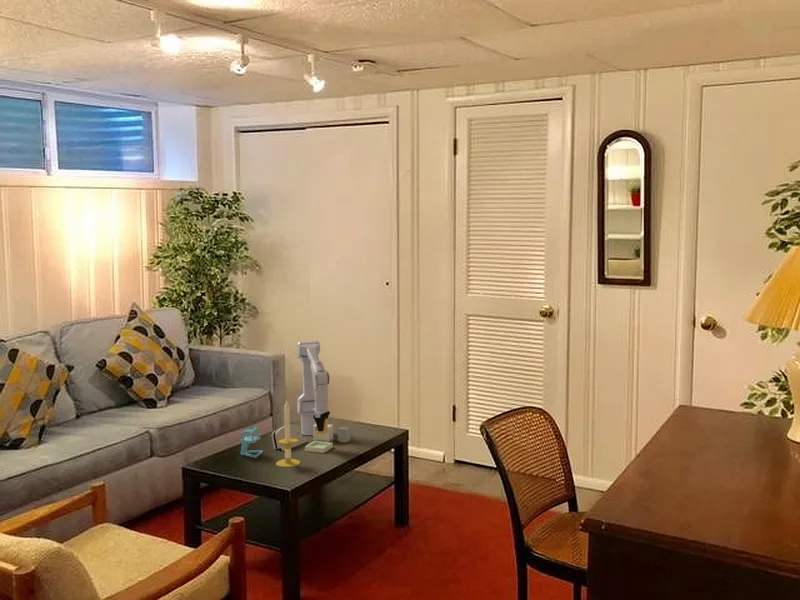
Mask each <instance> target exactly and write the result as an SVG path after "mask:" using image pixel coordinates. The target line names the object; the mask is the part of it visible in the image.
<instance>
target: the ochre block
mask: <svg viewBox="0 0 800 600" xmlns="http://www.w3.org/2000/svg"><path fill="white" fill-rule="evenodd" d="M328 419H329V418H328ZM328 419H325V422H324V429H323V431H318V429H317V434H326V433H327V432H328V424H329V423H328Z"/></svg>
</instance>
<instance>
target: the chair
mask: <svg viewBox="0 0 800 600" xmlns="http://www.w3.org/2000/svg"><path fill="white" fill-rule="evenodd" d="M259 432H260V428H258V427H256V426H251V427H248V428H245V430H243V431H240V436H241V439H240V440H239V443H241V448H240V454H241V455H240V456H244V455H245V456H244V457H248V456H249V457H250V458H253V457H254V459H257V458H258V457H259V456H261V455H262V454H263V453H264V451H263V450H262V449H260V450H248V448H249V446H250V444H255V443H256V442H257V441H260V439H261V436H259ZM244 434H246V436H244ZM255 435H256V436H255ZM260 454H261V455H260ZM249 457H248V458H249Z"/></svg>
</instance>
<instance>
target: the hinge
mask: <svg viewBox="0 0 800 600" xmlns="http://www.w3.org/2000/svg"><path fill="white" fill-rule="evenodd" d="M270 436H271V440H272V446H273V450H279V449H281V452H283V451H284V452H285V444H280V443H278V442H277V440H278V439H280V438H285V425H282V426H280V427H279V428H276V429H275V430H274V431H273V432H272V433H271V435H270ZM290 437H292V438H297V439H298V441H297V442H296V443H293V444H291V449H292V448H294V447H297V446H300V445H303V444H305V443H307V439H306V438H307V437H305V436H304V435H303V434H302V432H301V426H300V425H299V424H290Z"/></svg>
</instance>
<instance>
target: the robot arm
mask: <svg viewBox="0 0 800 600" xmlns="http://www.w3.org/2000/svg"><path fill="white" fill-rule="evenodd" d="M320 343H321V342H320V341H318V340H310V341H309V340H308V341H298V342H297V345H296V355H297V359H300V360H301V371H302V373H301V374H302V394H300V396H298V397H297V403H296V409H297V413H298V414H299V415H300V429H301V432H302V435H303V436H305V435H306V436H313V425H315V424H316V425H317V429H318V431H323V429H324V422H325V419H329V416H330V414H331V411H330V410H329V384H330V373H329V371H328V370H326V369H325V366H324V364H323V362H322V361H321V360H320V358H319V354H320V352H321V344H320Z"/></svg>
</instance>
